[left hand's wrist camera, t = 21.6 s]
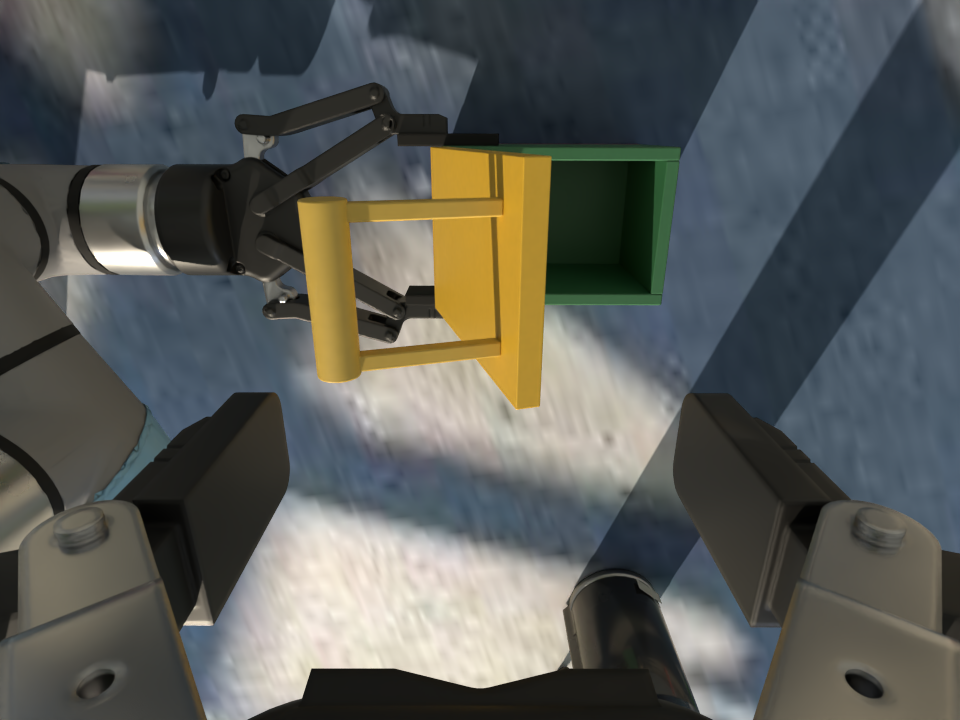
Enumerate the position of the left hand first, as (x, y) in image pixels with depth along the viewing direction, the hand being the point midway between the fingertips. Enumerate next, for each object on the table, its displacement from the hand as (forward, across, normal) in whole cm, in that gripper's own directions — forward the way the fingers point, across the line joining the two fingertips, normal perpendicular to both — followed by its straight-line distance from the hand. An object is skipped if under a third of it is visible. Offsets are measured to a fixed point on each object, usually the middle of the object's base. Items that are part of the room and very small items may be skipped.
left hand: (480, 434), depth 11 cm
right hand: (+30, -1, 0) cm, 30 cm away
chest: (+37, -5, 0) cm, 37 cm away
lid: (+19, 0, 0) cm, 19 cm away
